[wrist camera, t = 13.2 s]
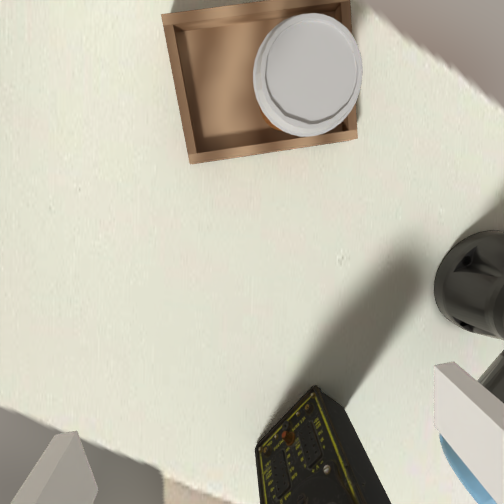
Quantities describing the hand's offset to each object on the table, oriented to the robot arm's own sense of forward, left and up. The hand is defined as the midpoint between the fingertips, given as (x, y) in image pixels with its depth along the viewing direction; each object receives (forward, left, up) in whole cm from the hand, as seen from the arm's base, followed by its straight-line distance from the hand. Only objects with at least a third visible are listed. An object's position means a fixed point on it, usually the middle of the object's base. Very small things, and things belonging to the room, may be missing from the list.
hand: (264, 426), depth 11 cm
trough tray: (-6, -18, -32) cm, 37 cm away
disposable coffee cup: (-8, -16, -31) cm, 36 cm away
